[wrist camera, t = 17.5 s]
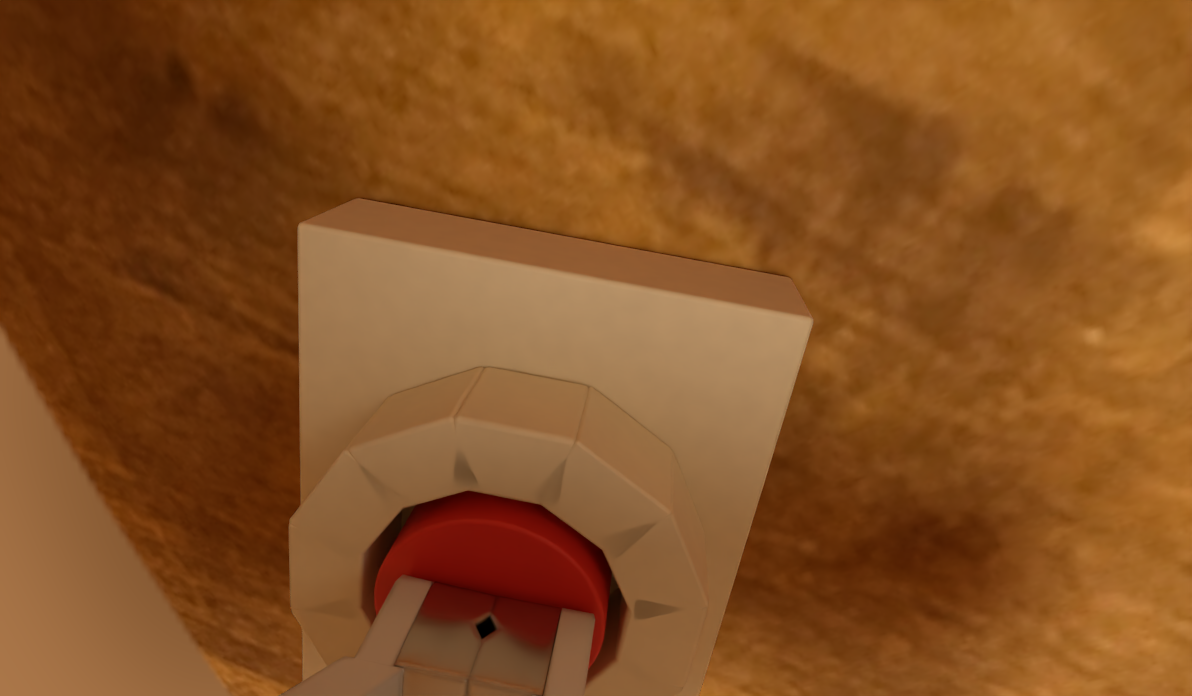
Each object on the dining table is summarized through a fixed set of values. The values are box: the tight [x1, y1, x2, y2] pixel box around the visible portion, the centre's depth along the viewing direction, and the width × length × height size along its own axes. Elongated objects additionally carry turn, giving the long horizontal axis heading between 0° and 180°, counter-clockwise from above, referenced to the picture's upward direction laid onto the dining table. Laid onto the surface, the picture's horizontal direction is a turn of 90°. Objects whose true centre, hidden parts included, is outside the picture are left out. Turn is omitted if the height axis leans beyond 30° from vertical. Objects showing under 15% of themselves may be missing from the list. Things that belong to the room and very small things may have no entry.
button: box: [374, 491, 612, 669], centre depth 11 cm, size 4×4×2 cm
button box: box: [289, 198, 813, 696], centre depth 13 cm, size 8×10×4 cm
